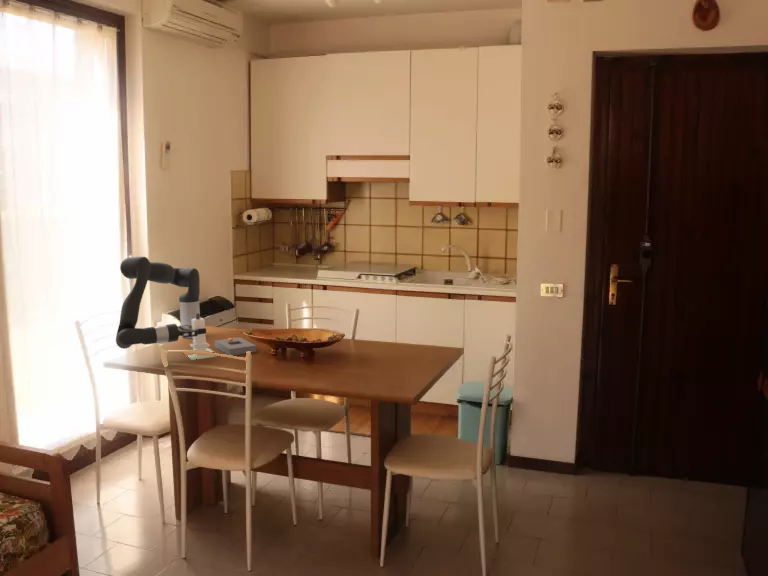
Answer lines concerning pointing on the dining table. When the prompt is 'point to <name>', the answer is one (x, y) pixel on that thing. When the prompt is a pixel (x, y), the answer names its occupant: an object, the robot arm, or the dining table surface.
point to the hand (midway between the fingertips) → (203, 329)
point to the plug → (199, 340)
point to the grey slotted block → (235, 346)
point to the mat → (194, 356)
